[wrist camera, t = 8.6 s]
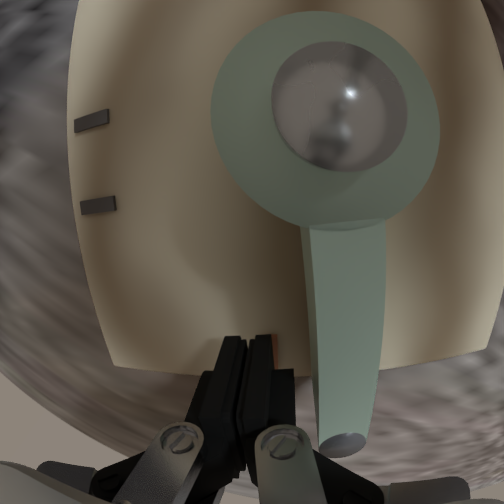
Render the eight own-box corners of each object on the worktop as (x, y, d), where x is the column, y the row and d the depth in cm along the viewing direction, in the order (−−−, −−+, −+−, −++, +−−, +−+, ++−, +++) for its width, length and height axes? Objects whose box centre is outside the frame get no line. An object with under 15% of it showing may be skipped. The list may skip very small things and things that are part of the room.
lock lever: (229, 78, 8) (186, 10, 4) (367, 66, 8) (426, 3, 3) (276, 390, 12) (271, 481, 7) (380, 376, 11) (410, 460, 7)
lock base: (459, -10, 7) (472, -22, 5) (473, 334, 12) (487, 350, 11) (95, 1, 9) (79, -11, 7) (125, 350, 15) (112, 367, 13)
